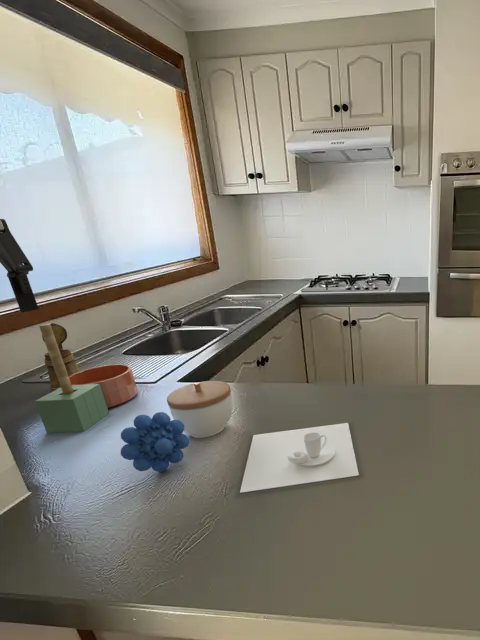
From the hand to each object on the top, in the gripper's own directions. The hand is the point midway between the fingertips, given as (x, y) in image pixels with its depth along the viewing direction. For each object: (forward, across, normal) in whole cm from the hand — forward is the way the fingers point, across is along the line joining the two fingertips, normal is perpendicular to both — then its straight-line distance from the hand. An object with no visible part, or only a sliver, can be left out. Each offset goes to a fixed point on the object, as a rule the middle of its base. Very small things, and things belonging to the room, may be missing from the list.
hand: (9, 309), depth 83 cm
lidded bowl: (+29, -31, -13) cm, 44 cm away
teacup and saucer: (+29, -56, -11) cm, 64 cm away
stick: (+29, +3, -7) cm, 30 cm away
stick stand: (+29, +3, -7) cm, 30 cm away
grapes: (+29, -36, +2) cm, 46 cm away
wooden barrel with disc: (+29, +32, -23) cm, 49 cm away
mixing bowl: (+29, +10, -18) cm, 35 cm away
